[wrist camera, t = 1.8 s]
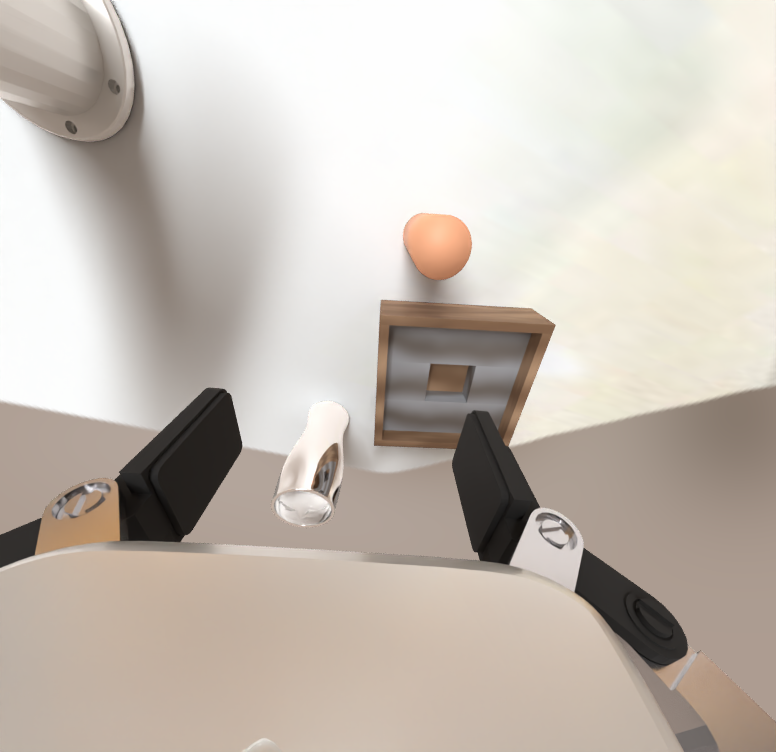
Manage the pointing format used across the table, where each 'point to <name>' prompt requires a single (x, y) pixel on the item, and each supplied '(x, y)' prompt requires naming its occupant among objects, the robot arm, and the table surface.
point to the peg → (437, 244)
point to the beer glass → (313, 469)
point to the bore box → (453, 369)
